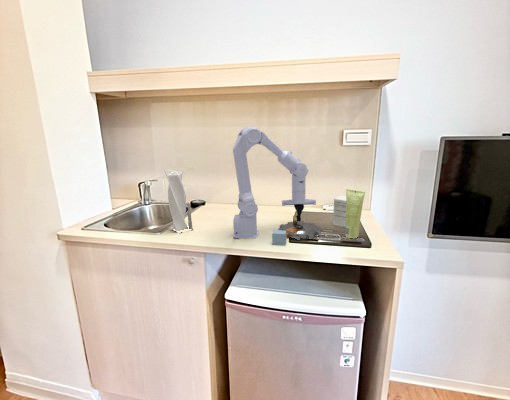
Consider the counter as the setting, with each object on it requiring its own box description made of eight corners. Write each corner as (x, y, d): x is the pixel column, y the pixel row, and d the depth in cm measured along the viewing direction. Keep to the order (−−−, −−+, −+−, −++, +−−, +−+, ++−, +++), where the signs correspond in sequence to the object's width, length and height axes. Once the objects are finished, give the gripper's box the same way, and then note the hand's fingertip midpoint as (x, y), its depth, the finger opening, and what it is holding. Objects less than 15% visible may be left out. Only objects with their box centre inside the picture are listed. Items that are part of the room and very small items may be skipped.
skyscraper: (176, 234, 120) (169, 170, 113) (168, 230, 126) (160, 168, 119) (193, 229, 126) (187, 168, 119) (184, 225, 132) (179, 166, 124)
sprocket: (284, 242, 108) (284, 229, 106) (274, 227, 125) (274, 215, 123) (327, 238, 110) (328, 225, 109) (311, 223, 127) (312, 212, 126)
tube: (357, 235, 114) (360, 188, 109) (361, 240, 109) (365, 191, 104) (343, 235, 114) (346, 189, 109) (347, 240, 109) (349, 191, 104)
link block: (272, 245, 107) (272, 233, 105) (273, 241, 110) (273, 230, 109) (285, 246, 106) (285, 234, 104) (286, 242, 109) (286, 230, 108)
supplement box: (339, 221, 131) (340, 195, 128) (354, 224, 126) (356, 197, 123) (332, 225, 125) (333, 198, 122) (348, 229, 121) (350, 201, 118)
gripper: (314, 188, 122) (313, 217, 126) (281, 189, 123) (281, 218, 127) (317, 191, 116) (316, 222, 119) (282, 192, 116) (282, 223, 120)
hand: (298, 220), depth 122 cm, fingers closed, pressing on sprocket
